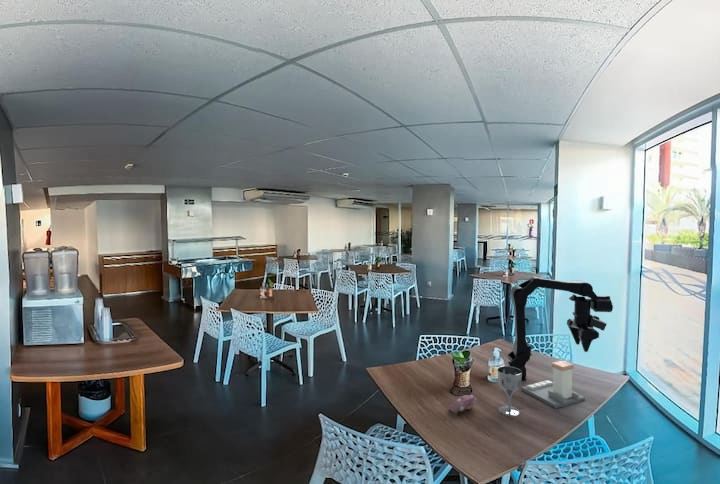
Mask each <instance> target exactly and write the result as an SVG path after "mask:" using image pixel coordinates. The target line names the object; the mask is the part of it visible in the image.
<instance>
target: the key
mask: <svg viewBox="0 0 720 484" xmlns="http://www.w3.org/2000/svg"><path fill="white" fill-rule="evenodd" d="M551 368H552V380H553V381H552V382H553V392H555V393H557V394H559V395H561V396H563V397H566V399H567V398H571V397H572V391H573V369H574V364H573V363H571V362H567V361H565V360H558V361H555V362H551Z"/></svg>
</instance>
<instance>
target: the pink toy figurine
mask: <svg viewBox="0 0 720 484" xmlns="http://www.w3.org/2000/svg"><path fill="white" fill-rule="evenodd" d="M477 402H478V399H477V398H476V396H474V395H473V394H470V395H467V394H465V395H462V396H461V397H459V398H457V399H456V400H455V401H454V402H452V403H450V404H449V406H448V409H450V410H452V411H451V412H456V411H458V412H460V411H462V412H464V411H465V410H467V409H469V410H471V408H472V407H473V406H475V405H476V404H477ZM450 410H449V411H450ZM463 410H464V411H463ZM467 411H468V410H467Z"/></svg>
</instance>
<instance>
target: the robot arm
mask: <svg viewBox="0 0 720 484" xmlns="http://www.w3.org/2000/svg"><path fill="white" fill-rule="evenodd" d="M538 288H543V289H548V290H549V289H550V290H556V291H557V290H558V291H563V292H569V293H572V295H571V296H569V298H568V299H569V300H570V301H571V302H574V308H573V309H574V311H573V312H572V316H573V317H574V318H568V319H567V320H566V325H567V327H568V329H569V332H570V333H571V335H572V337H573V340H574V342H575V344H576V345H577V346H579V345H580V344H581V347H582V349H583V352H584V353H588V352H589V349H590V347H591V344H592V342H593V341H594V340H596V339H599V338H600V332H599V331H598V330H596V329H599V330H601V331H605V328H606V326H607V323H606V322H604V321H602V320H601V319H600V317H599V316H598V315H592V314H591V310H593V312H595V313H612V311H613V309H614V305H613V301H612V300H611V296H610V295H597V294H596V293H595V292H594V290H593V289H594V288H593V286H592V285H591V284H590V283H588V282H586V281H583V280H570V281H569V280H567V281H564V280H558V279H550V278H541V277H537V276H532V277H530V278H529V279H527V280H525V281H523V282H521V283H520V284H519V285H514V286H513V287H511V288H510V291H509V295H510V298H511V303H512V306H513V310H514V311H513V316H514V317H513V318H514V335H515V338H514V341H513V346H512V350H511V352H510V353H508V354H507V358H508V360H509V361H507V366H511V367H515V368H518V369H520V370H521V381H527V368H526V364H527V362H529V361H530V359H531V357H532V356H533V354H532V346H531V343H529V342H528V341H527V337H526V336H527V335H526V333H527V332H526V311H525V309H526V305H527V303H528V296H530V295H531V294H533V293H534V292H535V290H537V289H538ZM578 295H579V296H578ZM586 297H587V298H586ZM595 328H596V329H595Z"/></svg>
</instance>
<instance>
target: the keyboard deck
mask: <svg viewBox="0 0 720 484" xmlns="http://www.w3.org/2000/svg"><path fill="white" fill-rule="evenodd" d="M520 389H521V391H522V392H524V393H526V394H528V395H530V396H531V397H534V398H535V399H538V400H540V402H541V401H542V402H544V403H545V404H546V405H549V406H551V407H553V408H555V409H558V408H562V407H563V408H564V407H566V406H570V405H572V404H575V403H576V404H577V403H580V402H584V401H585V400H586V396H585V395H584V396H583V395H582V394H580V393H578V392H575V391H574V390H572V397H571V398H567V399H566V397H563V396H561V395H559V394H557V393H555V392H553V381H551V380H548V379H547V380H543V381H539V382H535V383H532V384H527V385H525V386H521V388H520Z"/></svg>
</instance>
